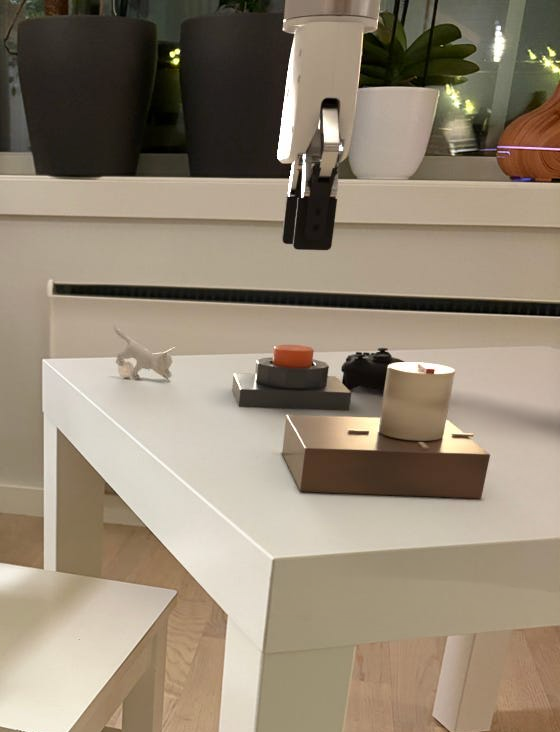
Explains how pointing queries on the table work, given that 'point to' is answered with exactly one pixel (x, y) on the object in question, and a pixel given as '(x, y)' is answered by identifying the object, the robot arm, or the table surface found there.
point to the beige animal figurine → (141, 359)
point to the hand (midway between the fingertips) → (305, 244)
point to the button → (293, 355)
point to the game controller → (367, 369)
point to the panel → (380, 459)
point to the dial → (416, 401)
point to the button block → (290, 387)
